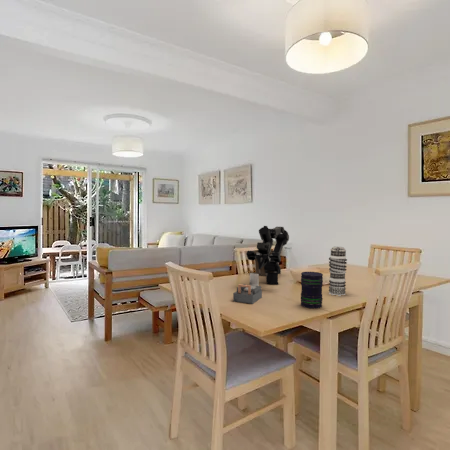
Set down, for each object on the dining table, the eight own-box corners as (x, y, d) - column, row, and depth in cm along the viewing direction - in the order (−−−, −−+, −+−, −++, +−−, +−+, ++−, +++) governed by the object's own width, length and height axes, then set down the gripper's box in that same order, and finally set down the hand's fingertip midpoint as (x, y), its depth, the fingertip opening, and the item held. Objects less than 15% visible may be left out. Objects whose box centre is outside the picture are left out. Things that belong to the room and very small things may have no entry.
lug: (239, 292, 161) (239, 284, 160) (250, 293, 158) (251, 285, 158) (238, 292, 159) (238, 284, 159) (250, 294, 157) (250, 286, 157)
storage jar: (306, 301, 161) (306, 270, 160) (325, 305, 154) (326, 273, 154) (296, 305, 153) (297, 273, 152) (316, 309, 147) (317, 276, 146)
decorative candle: (334, 296, 169) (335, 248, 168) (324, 292, 178) (325, 246, 177) (350, 295, 171) (351, 247, 170) (339, 291, 180) (340, 246, 179)
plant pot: (249, 272, 232) (249, 249, 232) (270, 271, 237) (270, 249, 237) (258, 277, 217) (258, 252, 216) (280, 275, 222) (280, 252, 221)
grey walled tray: (243, 295, 171) (243, 283, 171) (261, 297, 167) (262, 285, 166) (233, 301, 159) (233, 288, 159) (252, 304, 155) (252, 291, 155)
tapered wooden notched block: (250, 286, 172) (250, 273, 171) (258, 287, 170) (258, 273, 169) (243, 290, 163) (243, 276, 162) (251, 291, 161) (251, 277, 160)
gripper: (247, 236, 185) (239, 258, 176) (279, 237, 177) (273, 260, 168) (252, 248, 193) (244, 270, 183) (283, 250, 185) (277, 273, 175)
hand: (259, 268), depth 177 cm, fingers closed
